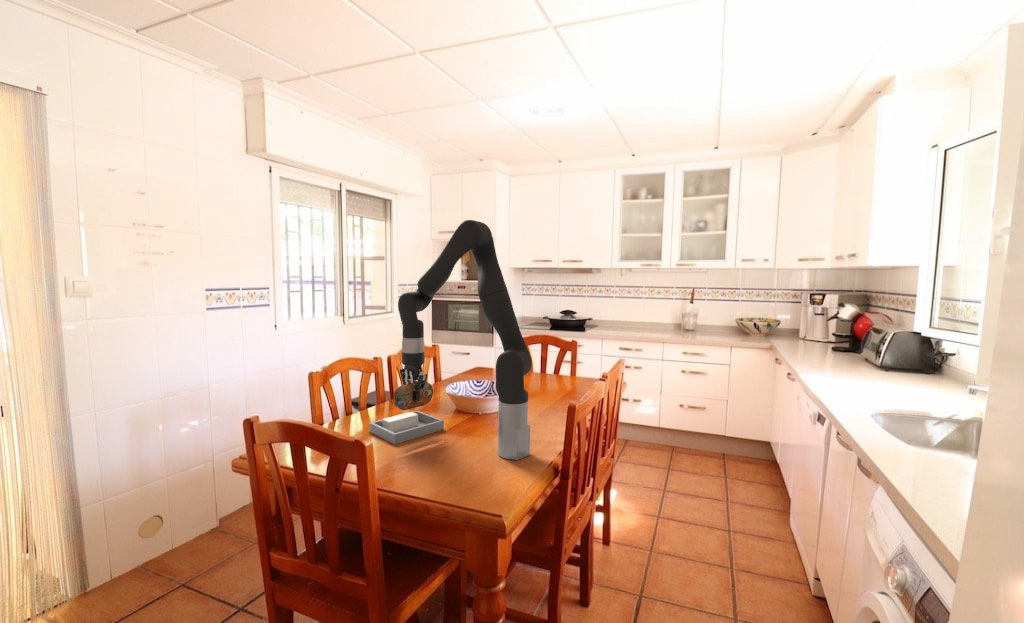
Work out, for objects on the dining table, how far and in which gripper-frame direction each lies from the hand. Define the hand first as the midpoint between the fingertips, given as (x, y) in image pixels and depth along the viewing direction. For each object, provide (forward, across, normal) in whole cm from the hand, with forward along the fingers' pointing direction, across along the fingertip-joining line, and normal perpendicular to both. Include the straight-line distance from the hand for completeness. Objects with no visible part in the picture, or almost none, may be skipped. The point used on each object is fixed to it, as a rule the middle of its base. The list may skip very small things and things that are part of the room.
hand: (413, 399), depth 157 cm
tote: (+13, +4, 0) cm, 13 cm away
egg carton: (+12, +8, 0) cm, 14 cm away
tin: (+3, 0, 0) cm, 3 cm away
